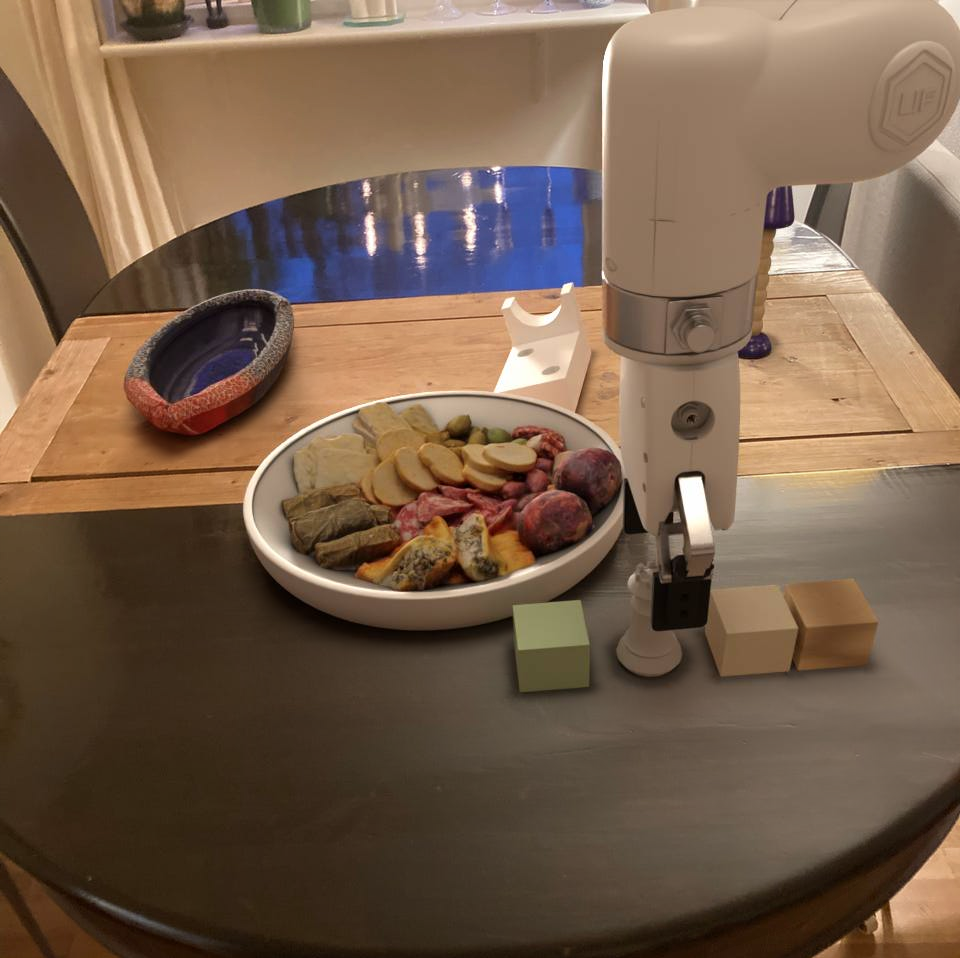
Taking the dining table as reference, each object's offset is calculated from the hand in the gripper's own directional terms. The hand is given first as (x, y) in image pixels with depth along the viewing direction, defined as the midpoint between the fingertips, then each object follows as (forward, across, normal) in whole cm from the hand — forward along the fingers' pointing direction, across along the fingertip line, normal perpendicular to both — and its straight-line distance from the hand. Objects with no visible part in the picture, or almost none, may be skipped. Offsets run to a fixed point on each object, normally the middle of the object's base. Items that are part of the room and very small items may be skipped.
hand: (662, 575), depth 59 cm
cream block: (+8, 0, -6) cm, 10 cm away
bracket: (+8, +42, +4) cm, 43 cm away
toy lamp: (+9, +47, -19) cm, 51 cm away
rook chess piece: (+8, 0, +1) cm, 8 cm away
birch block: (+8, 0, -11) cm, 13 cm away
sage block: (+7, 0, +7) cm, 10 cm away
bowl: (+8, +18, +14) cm, 24 cm away
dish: (+7, +49, +37) cm, 62 cm away
